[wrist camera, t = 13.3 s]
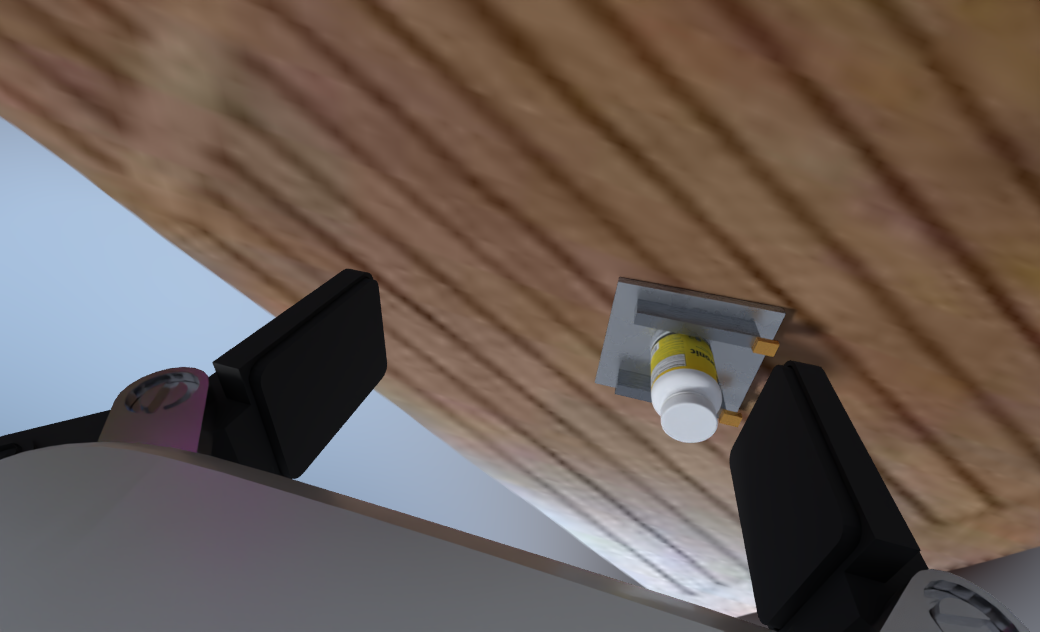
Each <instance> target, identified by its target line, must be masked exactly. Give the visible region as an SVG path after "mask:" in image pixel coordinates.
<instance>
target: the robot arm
mask: <svg viewBox="0 0 1040 632" xmlns="http://www.w3.org/2000/svg"><path fill="white" fill-rule="evenodd" d="M213 365H214V368H215V370H216V372H215V373H214V374H212V375H211V376H210V377H208V376H207V375H206V373H205V372H204V371H202V370H199V369H196V368H189V367H179V368H170V369H166V370H162V371H158V372H155V373H152V374H150V375H147V376H145V377H142V378H140V379H139V380H137V381H135V382H133V383H132V384H130V385H129V386H127V387H126V388H125V389H124V390H123V391H122V392H120V394H119V395H118V397H117V398H116V400H115V401H114V403H113V406H112V408H111V410H108V411H104V412H100V413H96V414H91V415H87V416H83V417H79V418H75V419H70V420H66V421H62V422H58V423H54V424H50V425H46V426H41V427H37V428H33V429H29V430H25V431H21V432H17V433H13V434H8V435H4V436H1V437H0V632H1030V631H1029V630H1028V628H1027V627H1026V626H1025V625H1024V624H1023V623H1022V622H1021V621H1020V620H1019V619H1018V618H1017V617H1016V616H1015V615H1014V614H1013V613H1012V612H1011V611H1010V610H1009V609H1008V608H1007V607H1006V606H1005V605H1003V604H1002V603H1001V602H999V601H998V600H997V599H996V598H994V597H993V596H992V595H990V594H989V593H988V592H986V591H985V590H983V589H981V588H980V587H978V586H976V585H975V584H973V583H972V582H970V581H968V580H966V579H964V578H961V577H959V576H956V575H954V574H951V573H950V572H945V571H940V570H935V569H930V570H929V569H928V567H927V565H926V563H925V561H924V559H923V557H922V556H921V554H920V551H921V550H920V548H919V546H918V544H917V543H916V541H915V539H914V537H913V535H912V533H911V531H910V530H909V528H908V526H907V524H906V522H905V520H904V518H903V517H902V515H901V513H900V511H899V509H898V507H897V505H896V504H895V502H894V500H893V498H892V496H891V494H890V492H889V491H888V489H887V487H886V485H885V483H884V481H883V480H882V478H881V476H880V474H879V472H878V470H877V468H876V467H875V465H874V463H873V461H872V459H871V457H870V455H869V454H868V452H867V450H866V448H865V446H864V444H863V442H862V441H861V439H860V437H859V435H858V433H857V431H856V429H855V428H854V426H853V424H852V422H851V420H850V418H849V416H848V415H847V413H846V411H845V409H844V407H843V405H842V403H841V402H840V400H839V398H838V396H837V394H836V392H835V390H834V389H833V387H832V385H831V383H830V381H829V379H828V377H827V376H826V374H825V372H824V370H823V369H822V368H821V367H819V366H815V365H810V364H806V363H801V362H796V361H791V360H790V361H787V362H786V363H785V364H784V366H782V365H776V366H775V367H774V369H773V370H772V372H771V374H770V376H769V378H768V380H767V382H766V384H765V386H764V388H763V390H762V391H761V393H760V395H759V397H758V399H757V401H756V403H755V405H754V407H753V409H752V411H751V413H750V415H749V417H748V418H747V420H746V422H745V424H744V426H743V428H742V430H741V432H740V434H739V436H738V438H737V440H736V442H735V443H734V445H733V447H732V450H731V453H730V469H731V475H732V480H733V485H734V491H735V496H736V501H737V507H738V512H739V517H740V523H741V528H742V533H743V539H744V544H745V549H746V555H747V560H748V565H749V571H750V576H751V581H752V587H753V592H754V598H755V603H756V608H757V613H758V617H759V619H760V621H761V622H762V624H764V625H768V628H769V629H768V628H765V627H761V626H758V625H755V624H753V623H749V622H747V621H744V620H740V619H738V618H735V617H732V616H729V615H726V614H723V613H720V612H717V611H714V610H711V609H708V608H705V607H702V606H698V605H695V604H692V603H689V602H686V601H683V600H680V599H676V598H673V597H670V596H667V595H664V594H661V593H657V592H654V591H651V590H648V589H645V588H641V587H638V586H635V585H632V584H629V583H626V582H623V581H619V580H616V579H613V578H610V577H607V576H604V575H600V574H597V573H594V572H591V571H588V570H585V569H581V568H578V567H575V566H571V565H569V564H566V563H562V562H559V561H556V560H553V559H550V558H546V557H543V556H540V555H537V554H533V553H530V552H527V551H524V550H521V549H517V548H514V547H511V546H508V545H505V544H501V543H498V542H495V541H492V540H489V539H485V538H482V537H479V536H475V535H472V534H469V533H466V532H463V531H459V530H456V529H453V528H450V527H447V526H443V525H440V524H437V523H434V522H430V521H427V520H424V519H421V518H417V517H414V516H411V515H408V514H404V513H401V512H398V511H395V510H391V509H388V508H385V507H381V506H378V505H375V504H372V503H368V502H365V501H362V500H358V499H355V498H352V497H349V496H345V495H342V494H339V493H336V492H332V491H329V490H326V489H322V488H319V487H316V486H312V485H309V484H305V483H302V482H299V481H296V480H293V479H296V478H298V477H300V476H301V475H302V474H303V473H304V472H305V470H306V469H307V468H308V467H309V465H310V464H311V463H312V462H313V461H314V460H315V458H316V457H317V456H318V455H319V454H320V452H321V451H322V450H323V449H324V448H325V446H326V445H327V444H328V443H329V442H330V440H331V439H332V438H333V437H334V435H335V434H336V433H337V432H338V431H339V430H340V428H341V427H342V426H343V425H344V423H345V422H346V421H347V420H348V419H349V418H350V416H351V415H352V414H353V413H354V412H355V410H356V409H357V408H358V407H359V406H360V404H361V403H362V402H363V401H364V400H365V398H366V397H367V396H368V395H369V394H370V392H371V391H372V390H373V389H374V387H375V386H376V385H377V384H378V383H379V381H380V380H381V379H382V378H383V376H384V375H385V372H386V369H387V358H386V349H385V340H384V331H383V322H382V313H381V304H380V295H379V286H378V283H377V281H376V280H373V277H372V275H371V274H370V273H367V272H362V271H357V270H353V269H345V270H343V271H341V272H340V273H339V274H337V275H336V276H334V277H333V278H331V279H330V280H329V281H327V282H326V283H324V284H323V285H321V286H320V287H319V288H317V289H316V290H314V291H313V292H312V293H310V294H309V295H307V296H306V297H304V298H303V299H302V300H300V301H299V302H297V303H296V304H294V305H293V306H292V307H290V308H289V309H287V310H286V311H284V312H283V313H282V314H280V315H279V316H277V317H276V318H275V319H273V320H272V321H270V322H269V323H268V324H266V325H265V326H263V327H262V328H260V329H259V330H257V331H256V332H255V333H253V334H252V335H250V336H249V337H248V338H246V339H245V340H243V341H242V342H241V343H239V344H238V345H236V346H235V347H233V348H232V349H230V350H229V351H228V352H226V353H225V354H223V355H222V356H220V357H219V358H218V359H216V360H215V361H213Z"/></svg>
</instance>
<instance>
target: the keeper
mask: <svg viewBox="0 0 1040 632" xmlns="http://www.w3.org/2000/svg"><path fill="white" fill-rule="evenodd" d="M785 314H786V313H785V311H784V309H783V308H781V307H776V306H770V305H765V304H760V303H754V302H749V301H744V300H738V299H733V298H728V297H723V296H717V295H712V294H707V293H701V292H696V291H691V290H685V289H680V288H675V287H669V286H664V285H659V284H654V283H648V282H643V281H638V280H632V279H627V278H622V277H619V280H618V284H617V288H616V292H615V297H614V301H613V305H612V310H611V314H610V318H609V323H608V327H607V331H606V335H605V340H604V344H603V348H602V353H601V357H600V361H599V366H598V370H597V374H596V379H595V383H598V384H602V385H606V386H610V387H615V394H618V395H622V396H626V397H630V398H635V399H639V400H643V401H647V402H651V403H652V399H651V348H652V345H653V343H654V341H655V340H656V339H657V338H658V337H659V336H660V335H661V334H663V333H665V332H667V331H669V332H674V333H679V334H684V335H689V336H694V337H698V338H703V339H707V341H708V342H709V344H710V346H711V349H712V352H713V356H714V362H715V366H716V371H717V375H718V379H719V384H720V388H721V393H722V403H721V407H720V409H719V411H718V413H717V414H716V416H717V418H719V423H722V424H726V425H730V426H735V427H738V426H739V424H740V422H741V420H742V414H741V413H738V412H737V411H738V409H739V407H740V405H741V403H742V401H743V399H744V397H745V395H746V393H747V391H748V389H749V387H750V385H751V383H752V381H753V379H754V377H755V375H756V373H757V371H758V369H759V367H760V365H761V363H762V361H763V359H764V357H765V355H767V356H772V357H774V355H775V353H776V351H777V349H778V347H779V343H778V341H776V340H773V338H774V336H775V334H776V332H777V330H778V328H779V326H780V324H781V322H782V320H783V318H784V316H785Z"/></svg>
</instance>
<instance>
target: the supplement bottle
mask: <svg viewBox="0 0 1040 632" xmlns="http://www.w3.org/2000/svg"><path fill="white" fill-rule="evenodd" d="M651 399H652V404H653V406H654V408H655V410H656V411H657V413H658V414H659V415H660V416H661V424H662V427H663V429H664V431H665V432H666V433H667V434H668V435H669V436H670V437H672V438H674V439H676V440H678V441H682V442H687V443H695V442H701V441H704V440H706V439H708V438H709V437H711V436H712V435H713V434H714V433H715V431H716V429H717V425H718V421H717V416H716V414H717V413H718V411H719V409H720V407H721V403H722V393H721V388H720V384H719V379H718V375H717V371H716V366H715V362H714V356H713V352H712V349H711V346H710V344H709V342H708V341H707V339H703V338H698V337H694V336H689V335H684V334H679V333H674V332H669V331H667V332H665V333H663V334H661V335H660V336H659V337H658V338H657V339H656V340H655V341H654V343H653V345H652V348H651Z"/></svg>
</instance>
